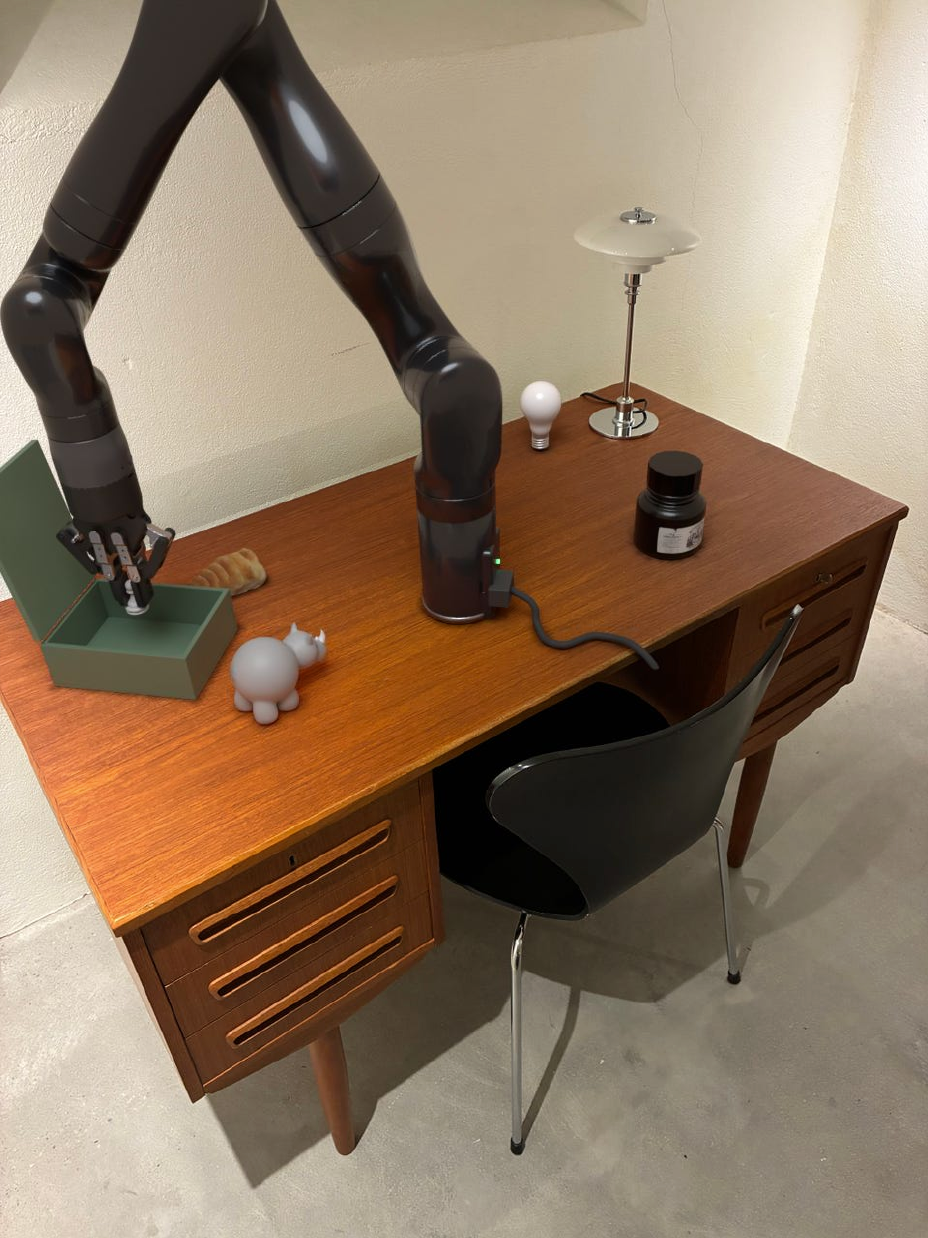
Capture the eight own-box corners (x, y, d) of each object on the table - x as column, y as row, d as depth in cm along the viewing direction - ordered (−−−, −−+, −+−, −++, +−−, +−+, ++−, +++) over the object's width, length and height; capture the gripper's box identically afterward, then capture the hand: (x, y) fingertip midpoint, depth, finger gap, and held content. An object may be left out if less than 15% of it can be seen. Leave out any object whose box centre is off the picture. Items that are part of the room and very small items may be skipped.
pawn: (124, 606, 114) (115, 577, 111) (147, 600, 114) (139, 571, 112) (128, 618, 112) (119, 589, 109) (151, 612, 112) (143, 583, 110)
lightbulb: (517, 457, 154) (517, 390, 147) (522, 438, 159) (522, 373, 152) (558, 459, 153) (560, 392, 146) (562, 440, 158) (564, 374, 151)
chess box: (238, 628, 121) (229, 588, 117) (196, 700, 110) (185, 658, 107) (107, 617, 124) (95, 577, 120) (54, 686, 113) (39, 645, 110)
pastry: (206, 611, 124) (200, 586, 121) (182, 588, 128) (176, 564, 126) (272, 583, 128) (267, 558, 126) (246, 561, 133) (241, 537, 130)
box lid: (37, 439, 109) (31, 439, 109) (-31, 499, 99) (-37, 499, 99) (97, 574, 120) (91, 574, 120) (41, 641, 109) (34, 642, 109)
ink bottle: (669, 570, 128) (678, 488, 120) (617, 543, 133) (623, 463, 126) (716, 541, 133) (727, 461, 125) (664, 517, 138) (672, 439, 131)
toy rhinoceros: (350, 683, 112) (342, 623, 107) (263, 737, 105) (250, 675, 100) (311, 655, 116) (302, 596, 111) (225, 705, 110) (210, 645, 104)
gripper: (15, 481, 100) (64, 618, 111) (141, 488, 98) (179, 627, 108) (52, 447, 106) (96, 580, 117) (172, 452, 104) (205, 588, 114)
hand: (136, 602), depth 112 cm, fingers closed on pawn, 1 cm apart
